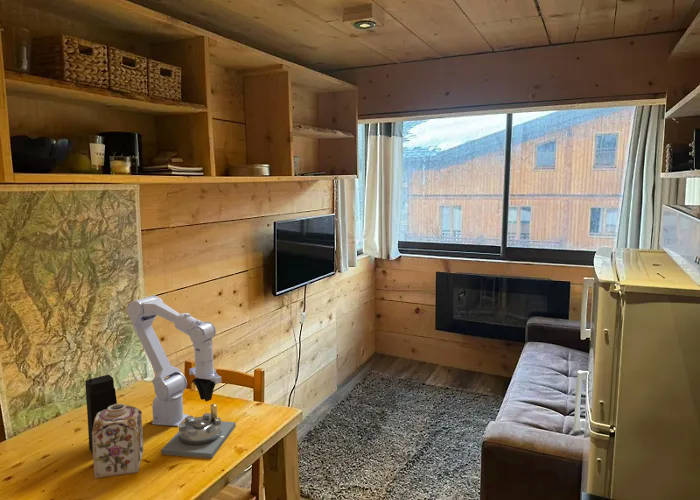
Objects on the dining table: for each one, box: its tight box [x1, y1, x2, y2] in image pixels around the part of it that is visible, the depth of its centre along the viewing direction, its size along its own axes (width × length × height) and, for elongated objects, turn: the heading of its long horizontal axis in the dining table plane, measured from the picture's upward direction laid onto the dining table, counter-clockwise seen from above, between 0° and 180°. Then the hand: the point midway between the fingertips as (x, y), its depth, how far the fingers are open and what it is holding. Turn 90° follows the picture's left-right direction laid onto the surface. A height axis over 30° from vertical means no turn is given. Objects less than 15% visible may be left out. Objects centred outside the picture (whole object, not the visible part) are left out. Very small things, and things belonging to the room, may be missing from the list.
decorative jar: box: [92, 403, 144, 479], centre depth 145 cm, size 12×12×18 cm
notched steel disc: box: [178, 403, 222, 445], centre depth 160 cm, size 13×13×8 cm
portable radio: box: [84, 373, 118, 454], centre depth 154 cm, size 8×6×25 cm
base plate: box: [160, 420, 236, 459], centre depth 161 cm, size 16×20×2 cm
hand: (206, 399), depth 167 cm, fingers closed
